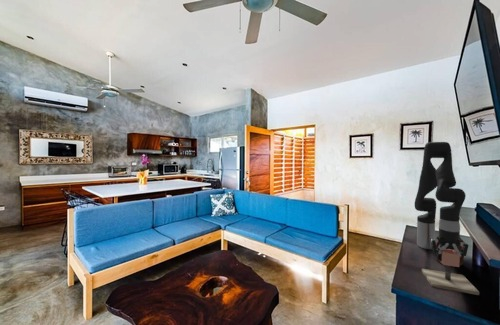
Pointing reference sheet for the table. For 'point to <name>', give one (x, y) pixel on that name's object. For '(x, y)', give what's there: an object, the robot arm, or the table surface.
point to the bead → (450, 258)
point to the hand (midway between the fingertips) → (448, 261)
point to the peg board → (449, 281)
